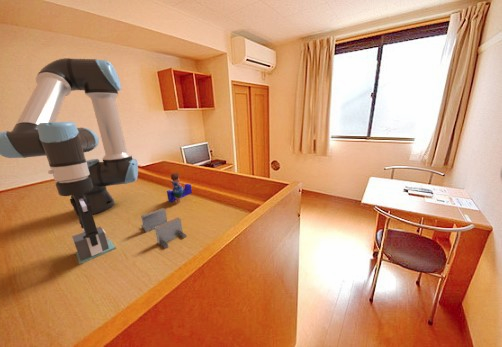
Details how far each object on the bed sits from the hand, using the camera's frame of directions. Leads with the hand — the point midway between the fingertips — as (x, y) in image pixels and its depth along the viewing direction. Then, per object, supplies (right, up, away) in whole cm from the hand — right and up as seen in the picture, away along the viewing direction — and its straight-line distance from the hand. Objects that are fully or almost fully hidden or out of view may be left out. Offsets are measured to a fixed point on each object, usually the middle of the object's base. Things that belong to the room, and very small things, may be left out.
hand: (95, 249), depth 61 cm
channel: (+17, +3, +9) cm, 20 cm away
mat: (0, -1, 0) cm, 1 cm away
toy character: (+15, +9, +33) cm, 37 cm away
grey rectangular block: (0, 0, 0) cm, 0 cm away
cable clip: (+13, +11, +39) cm, 42 cm away
